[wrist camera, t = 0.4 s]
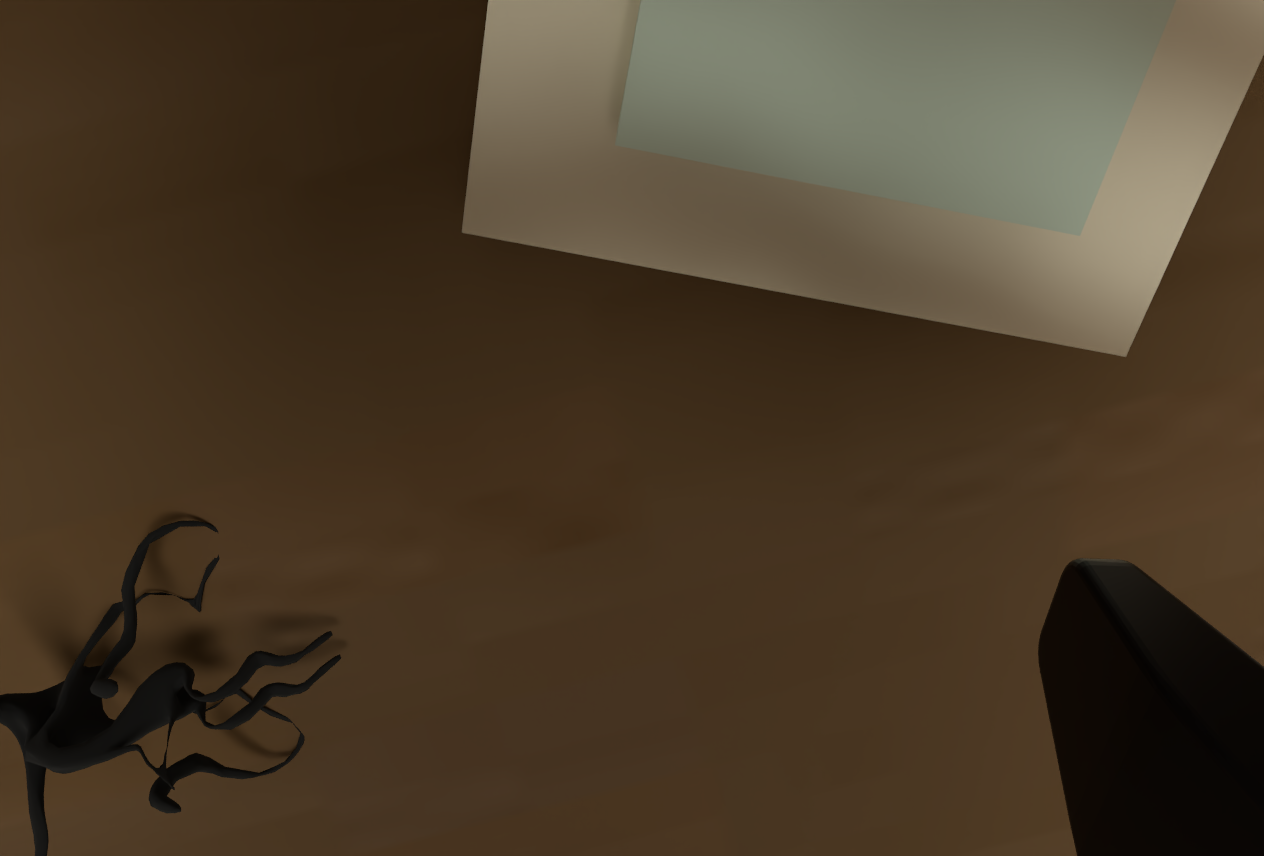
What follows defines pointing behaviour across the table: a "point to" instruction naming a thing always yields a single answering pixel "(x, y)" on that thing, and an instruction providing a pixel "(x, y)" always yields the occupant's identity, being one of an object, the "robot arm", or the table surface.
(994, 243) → the plinth
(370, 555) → the table surface
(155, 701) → the creature
